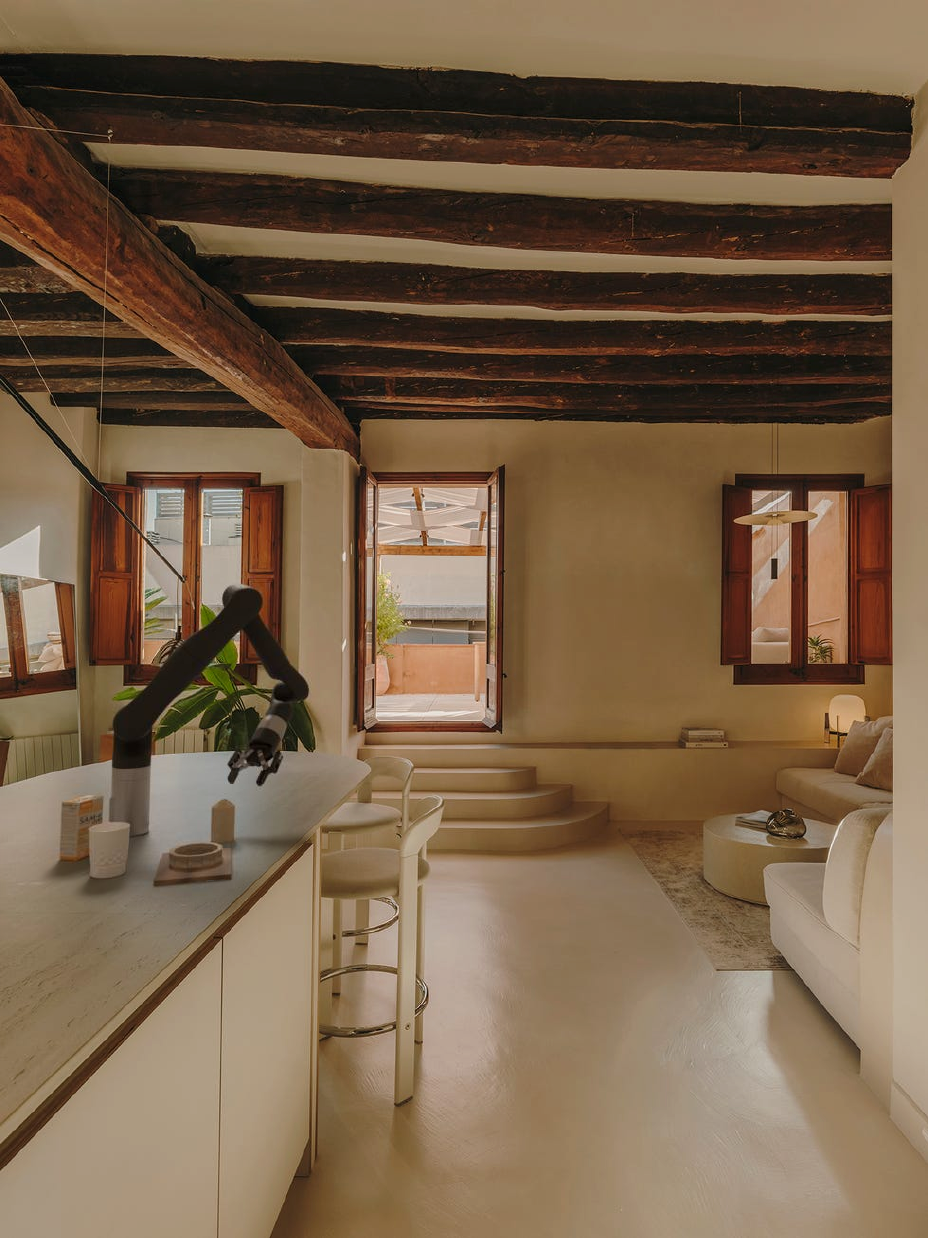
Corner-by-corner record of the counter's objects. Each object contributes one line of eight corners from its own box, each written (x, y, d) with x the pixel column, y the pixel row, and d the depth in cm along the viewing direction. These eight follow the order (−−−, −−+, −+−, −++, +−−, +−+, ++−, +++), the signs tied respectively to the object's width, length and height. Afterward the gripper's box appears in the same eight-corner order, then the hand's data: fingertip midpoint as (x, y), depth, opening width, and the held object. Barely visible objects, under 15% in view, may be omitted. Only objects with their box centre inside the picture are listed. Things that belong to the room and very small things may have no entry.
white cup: (136, 870, 152) (138, 824, 152) (107, 881, 144) (109, 833, 145) (108, 866, 154) (110, 820, 155) (78, 877, 147) (80, 829, 147)
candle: (214, 837, 178) (215, 798, 179) (236, 837, 179) (237, 797, 179) (208, 843, 173) (209, 802, 173) (230, 843, 173) (232, 802, 174)
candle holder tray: (153, 885, 142) (154, 868, 142) (162, 857, 161) (163, 842, 161) (231, 879, 147) (231, 862, 147) (231, 852, 166) (231, 837, 166)
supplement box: (76, 861, 157) (78, 802, 158) (58, 859, 158) (60, 801, 159) (102, 851, 166) (104, 795, 166) (85, 849, 167) (86, 794, 167)
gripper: (241, 725, 196) (215, 773, 184) (286, 727, 192) (262, 776, 180) (251, 741, 201) (226, 789, 189) (296, 744, 197) (273, 793, 185)
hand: (244, 783), depth 185 cm, fingers open, 8 cm apart
